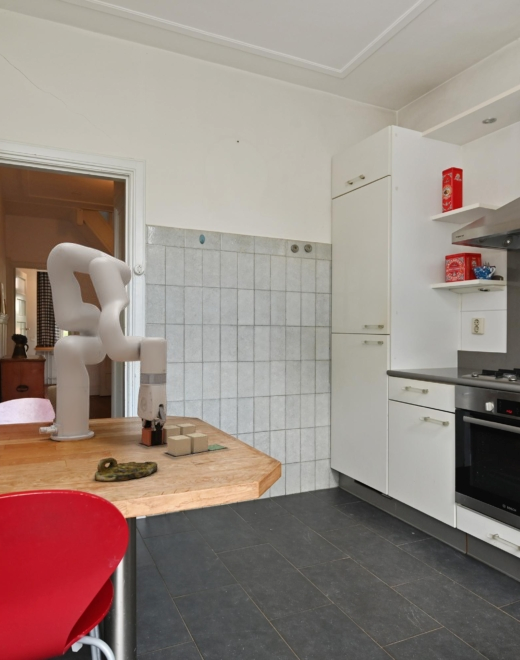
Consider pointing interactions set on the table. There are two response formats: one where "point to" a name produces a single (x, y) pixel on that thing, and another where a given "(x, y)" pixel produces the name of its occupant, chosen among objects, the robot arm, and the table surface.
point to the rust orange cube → (148, 436)
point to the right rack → (190, 445)
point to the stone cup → (53, 398)
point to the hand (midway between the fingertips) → (152, 442)
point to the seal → (122, 470)
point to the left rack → (175, 432)
